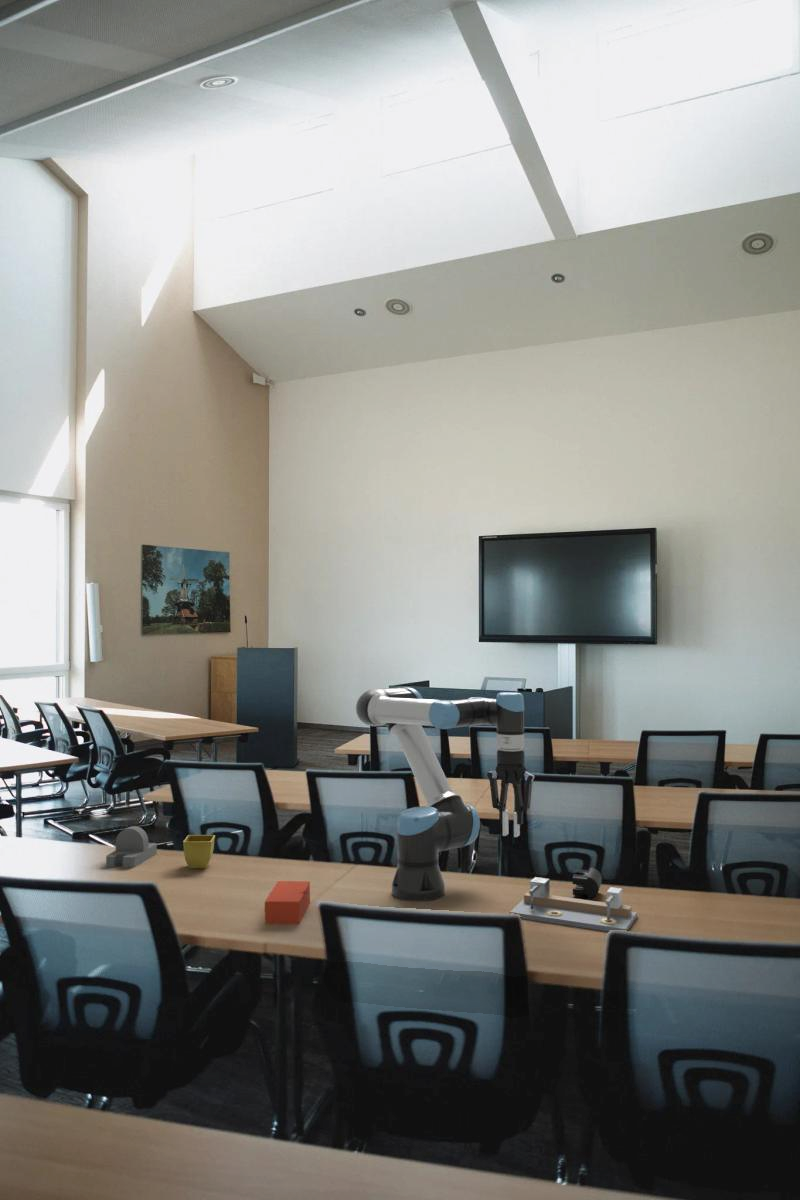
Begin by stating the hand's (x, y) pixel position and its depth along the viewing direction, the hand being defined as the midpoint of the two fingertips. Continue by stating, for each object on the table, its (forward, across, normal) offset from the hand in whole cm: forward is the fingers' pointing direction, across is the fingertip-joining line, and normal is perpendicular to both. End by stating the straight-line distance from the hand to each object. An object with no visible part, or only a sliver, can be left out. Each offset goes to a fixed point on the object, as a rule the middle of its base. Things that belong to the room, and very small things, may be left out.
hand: (511, 835), depth 241 cm
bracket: (+19, -126, -10) cm, 128 cm away
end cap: (+19, +17, +16) cm, 30 cm away
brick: (+19, -51, -32) cm, 63 cm away
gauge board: (+19, +18, -4) cm, 26 cm away
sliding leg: (+17, +8, -3) cm, 19 cm away
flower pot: (+19, -101, -8) cm, 103 cm away
